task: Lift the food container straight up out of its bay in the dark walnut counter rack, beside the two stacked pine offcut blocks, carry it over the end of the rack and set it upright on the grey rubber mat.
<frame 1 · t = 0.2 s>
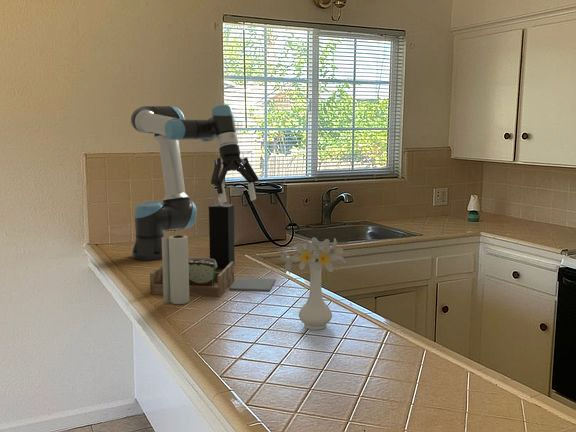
hand: (239, 201, 226), 28 cm above the worktop, tool tilted 20°, fingers open, 13 cm apart
black bar: (222, 267, 241), on the worktop
food container: (203, 288, 212), resting in rack
paper towel roll: (178, 302, 194), on the worktop
rack: (194, 286, 212), on the worktop
mat: (253, 285, 214), on the worktop
flower vase: (313, 328, 170), on the worktop
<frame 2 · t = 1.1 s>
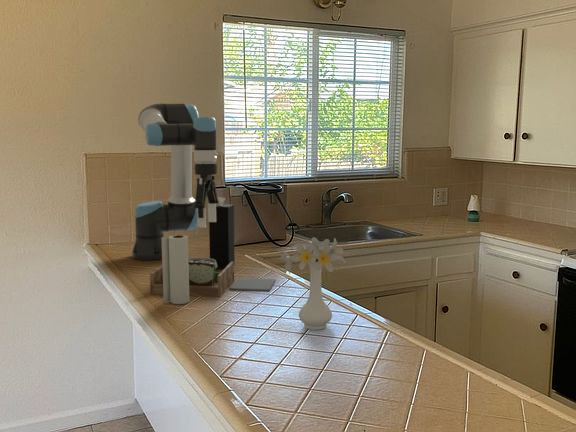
hand: (207, 224, 210), 22 cm above the worktop, tool pointing down, fingers open, 13 cm apart
nothing on the worktop moved.
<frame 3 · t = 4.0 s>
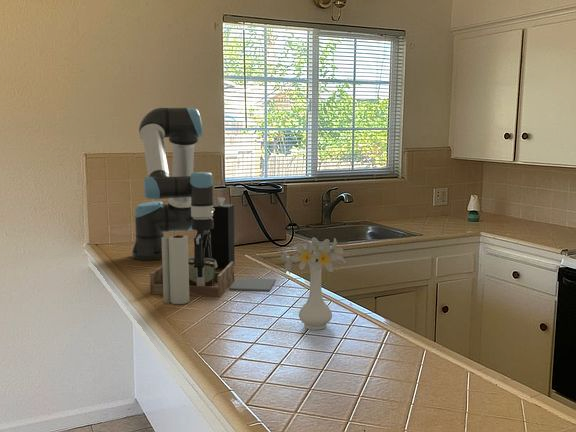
hand: (203, 283, 211), 2 cm above the worktop, tool pointing down, fingers closed on food container, 7 cm apart
food container: (203, 287, 212), resting in rack, touching gripper
everything else where it was.
when the fingers open (2 cm above the worktop, at t = 9.4 s): food container stays where it is, resting on mat.
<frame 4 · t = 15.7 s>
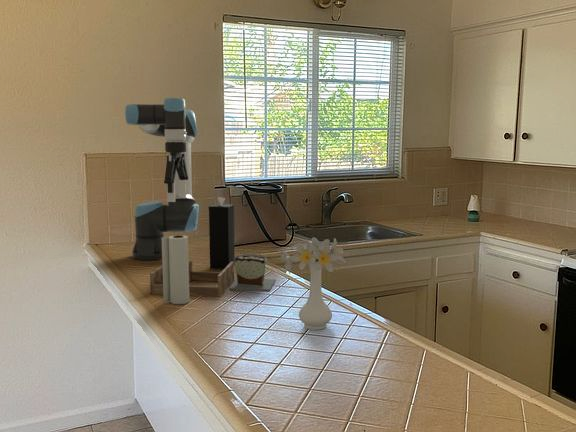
hand: (177, 199, 224), 29 cm above the worktop, tool pointing down, fingers open, 13 cm apart
food container: (253, 283, 215), resting on mat
at the end: food container inside the target area on the mat (0.2 cm from its centre), point 0.4 cm above the mat's base; food container tilted 0°; the gripper is holding nothing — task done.
